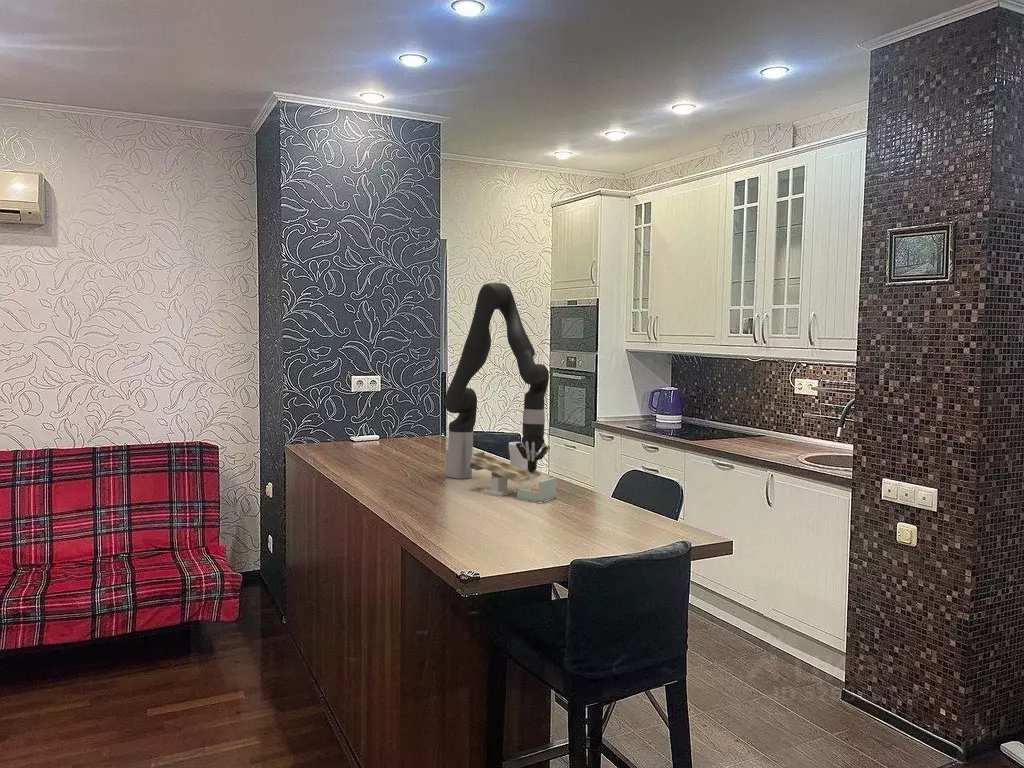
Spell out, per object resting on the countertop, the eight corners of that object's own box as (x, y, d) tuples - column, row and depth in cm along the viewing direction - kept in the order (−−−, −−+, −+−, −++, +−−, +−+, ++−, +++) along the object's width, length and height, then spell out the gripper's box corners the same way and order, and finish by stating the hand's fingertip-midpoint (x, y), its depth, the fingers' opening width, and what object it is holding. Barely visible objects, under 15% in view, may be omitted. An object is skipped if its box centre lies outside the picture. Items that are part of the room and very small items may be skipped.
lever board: (468, 467, 272) (472, 453, 271) (492, 462, 284) (496, 448, 283) (516, 488, 262) (520, 473, 261) (539, 481, 274) (542, 467, 273)
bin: (517, 499, 260) (517, 478, 259) (532, 494, 268) (533, 474, 268) (540, 503, 255) (541, 482, 255) (555, 498, 264) (556, 477, 263)
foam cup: (518, 481, 290) (519, 446, 289) (502, 476, 297) (503, 442, 296) (537, 478, 296) (538, 444, 295) (521, 474, 303) (522, 441, 302)
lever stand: (480, 493, 268) (481, 476, 267) (496, 488, 276) (497, 472, 276) (500, 496, 263) (501, 480, 263) (516, 491, 272) (516, 475, 271)
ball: (528, 488, 261) (538, 484, 259) (535, 486, 264) (544, 482, 262) (533, 499, 260) (542, 495, 258) (539, 497, 264) (548, 493, 262)
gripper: (511, 421, 272) (510, 470, 273) (544, 424, 265) (543, 475, 266) (522, 419, 278) (521, 467, 279) (555, 422, 271) (553, 472, 272)
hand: (532, 471), depth 273 cm, fingers closed
